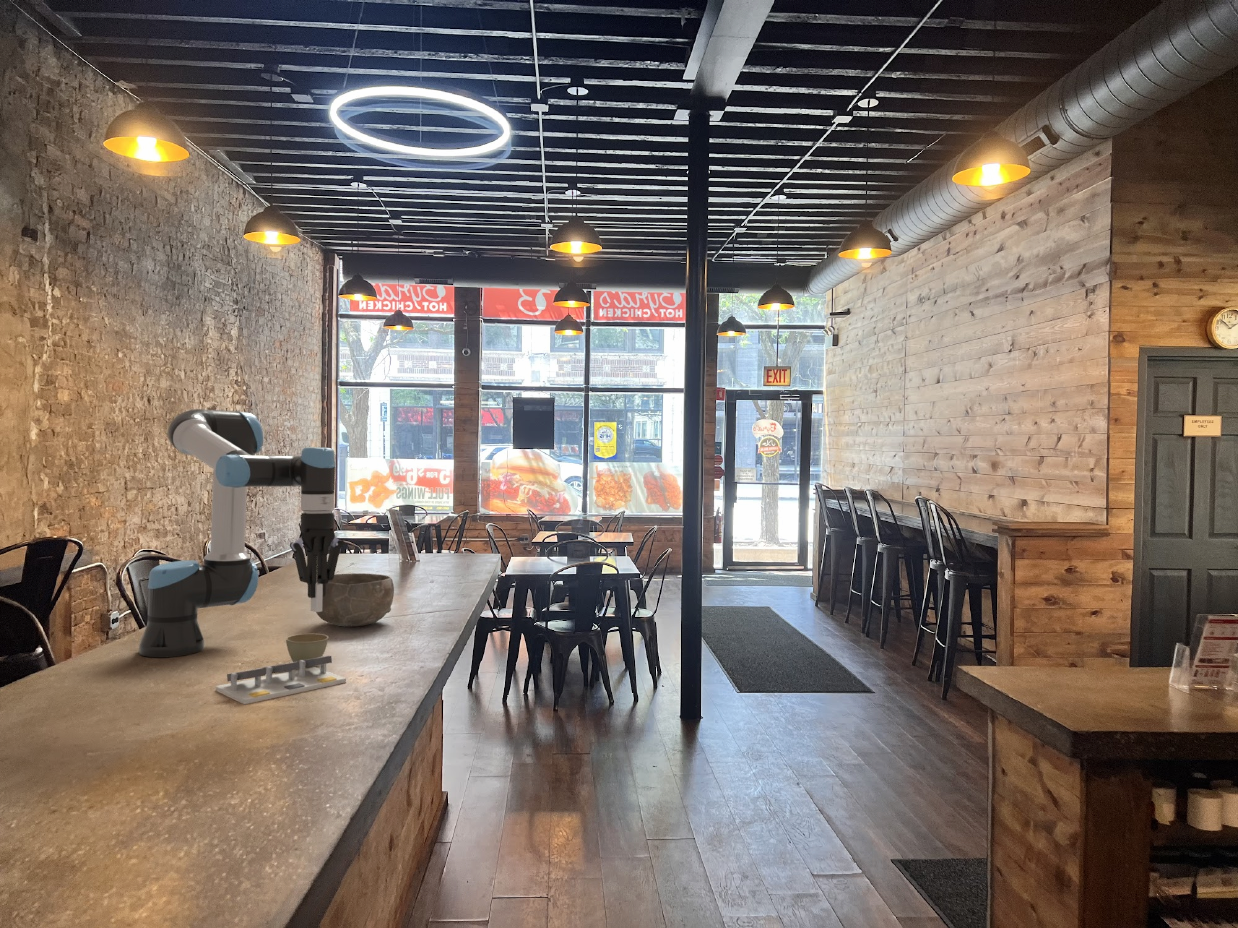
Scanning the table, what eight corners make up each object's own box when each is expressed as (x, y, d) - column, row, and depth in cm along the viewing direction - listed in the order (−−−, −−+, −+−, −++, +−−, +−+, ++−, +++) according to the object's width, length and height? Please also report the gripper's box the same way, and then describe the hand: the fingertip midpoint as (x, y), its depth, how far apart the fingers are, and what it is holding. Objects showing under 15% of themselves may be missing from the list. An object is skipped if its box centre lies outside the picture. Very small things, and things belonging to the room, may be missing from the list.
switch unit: (215, 690, 181) (216, 669, 181) (315, 670, 199) (315, 651, 199) (244, 704, 172) (244, 681, 171) (345, 682, 190) (346, 662, 190)
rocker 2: (261, 674, 187) (260, 667, 187) (279, 671, 190) (279, 664, 191) (282, 671, 181) (281, 664, 181) (300, 668, 184) (299, 660, 184)
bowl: (409, 624, 255) (411, 577, 255) (347, 637, 235) (348, 586, 235) (359, 614, 268) (360, 569, 268) (295, 626, 248) (296, 577, 248)
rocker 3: (294, 668, 193) (293, 661, 194) (311, 665, 197) (310, 658, 197) (315, 665, 187) (314, 658, 187) (332, 662, 190) (331, 655, 191)
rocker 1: (226, 681, 181) (226, 673, 181) (246, 677, 184) (245, 670, 185) (246, 678, 175) (246, 670, 175) (266, 674, 178) (265, 667, 178)
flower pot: (313, 672, 198) (313, 643, 198) (276, 668, 200) (277, 640, 200) (335, 662, 207) (336, 634, 207) (300, 659, 209) (301, 631, 209)
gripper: (299, 513, 184) (298, 616, 184) (350, 511, 194) (349, 609, 194) (283, 512, 189) (282, 612, 189) (334, 510, 199) (333, 605, 199)
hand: (316, 610), depth 191 cm, fingers closed
